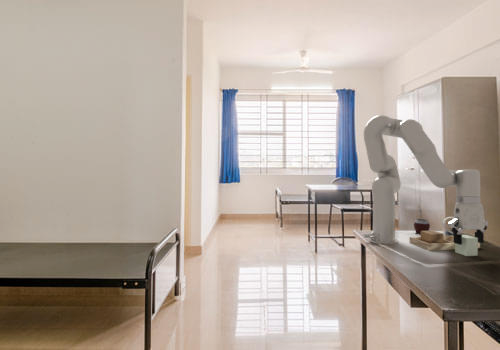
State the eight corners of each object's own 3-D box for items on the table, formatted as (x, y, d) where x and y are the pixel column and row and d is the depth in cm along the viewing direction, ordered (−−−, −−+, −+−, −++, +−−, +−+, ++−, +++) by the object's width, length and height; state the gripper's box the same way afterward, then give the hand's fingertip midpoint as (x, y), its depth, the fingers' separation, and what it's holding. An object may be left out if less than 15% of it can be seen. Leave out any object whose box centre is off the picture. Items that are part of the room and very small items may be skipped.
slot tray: (428, 252, 116) (429, 244, 116) (409, 244, 128) (409, 237, 128) (480, 250, 120) (480, 242, 120) (456, 242, 131) (456, 235, 131)
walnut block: (430, 247, 119) (431, 234, 119) (420, 244, 125) (420, 230, 125) (443, 247, 120) (443, 233, 120) (432, 243, 126) (432, 230, 126)
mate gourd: (424, 237, 141) (425, 208, 141) (409, 234, 148) (409, 206, 148) (432, 235, 145) (433, 207, 144) (417, 232, 152) (418, 205, 151)
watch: (463, 241, 134) (464, 218, 133) (443, 239, 137) (444, 217, 137) (460, 238, 139) (461, 216, 138) (441, 236, 142) (442, 215, 142)
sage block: (466, 258, 109) (466, 238, 109) (455, 254, 114) (455, 235, 114) (477, 258, 110) (477, 237, 109) (465, 254, 114) (466, 234, 114)
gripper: (457, 202, 106) (457, 246, 106) (496, 200, 108) (496, 244, 108) (441, 200, 113) (441, 242, 114) (478, 198, 116) (478, 239, 116)
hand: (468, 243), depth 111 cm, fingers open, 9 cm apart
